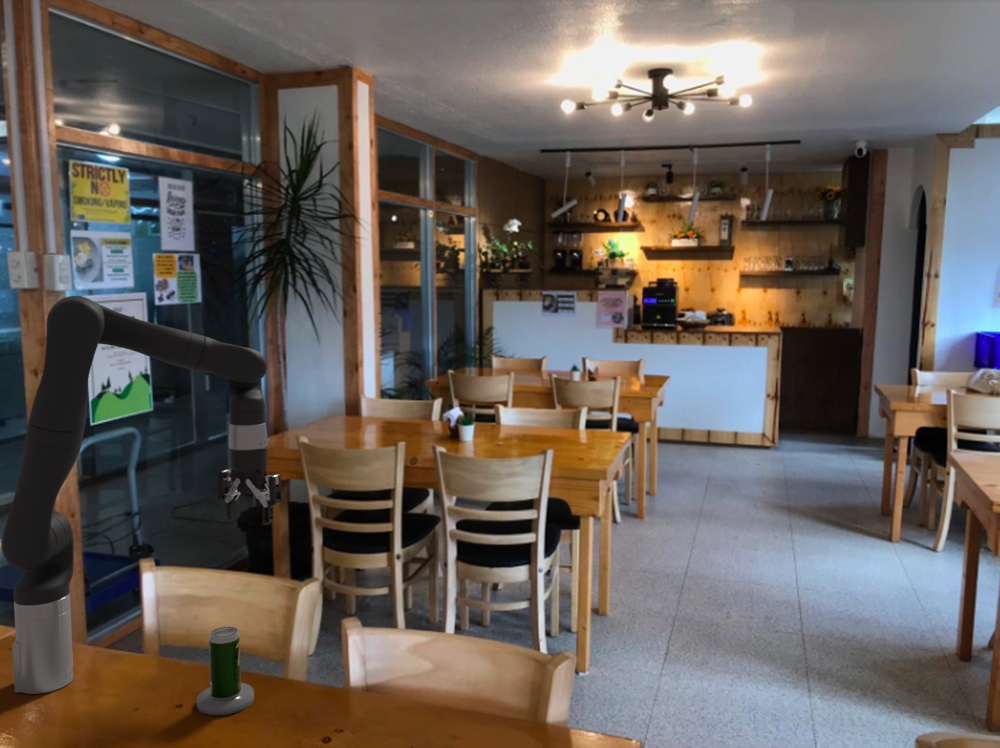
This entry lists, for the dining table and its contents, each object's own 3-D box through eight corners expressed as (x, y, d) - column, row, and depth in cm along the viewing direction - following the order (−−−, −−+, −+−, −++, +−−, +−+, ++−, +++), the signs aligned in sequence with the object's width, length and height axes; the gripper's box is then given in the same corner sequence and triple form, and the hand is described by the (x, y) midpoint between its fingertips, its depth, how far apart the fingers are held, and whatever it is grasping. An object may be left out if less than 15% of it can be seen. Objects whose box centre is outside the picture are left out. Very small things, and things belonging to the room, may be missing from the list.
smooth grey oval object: (193, 719, 138) (193, 712, 138) (199, 691, 148) (199, 685, 148) (252, 711, 141) (252, 705, 141) (255, 685, 151) (255, 679, 151)
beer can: (214, 705, 141) (212, 640, 140) (207, 692, 145) (205, 630, 144) (244, 697, 144) (243, 633, 143) (236, 684, 148) (235, 623, 147)
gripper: (207, 445, 160) (209, 523, 161) (265, 450, 155) (267, 530, 156) (231, 439, 167) (233, 514, 168) (288, 444, 162) (290, 520, 163)
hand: (250, 522), depth 162 cm, fingers open, 8 cm apart
